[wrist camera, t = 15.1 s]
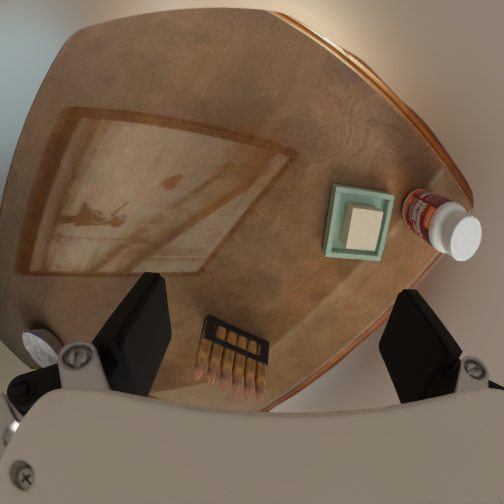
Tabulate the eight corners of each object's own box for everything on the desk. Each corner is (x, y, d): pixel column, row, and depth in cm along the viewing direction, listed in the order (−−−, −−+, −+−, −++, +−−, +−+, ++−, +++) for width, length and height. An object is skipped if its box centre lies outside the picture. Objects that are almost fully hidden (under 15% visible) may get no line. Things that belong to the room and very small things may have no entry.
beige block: (345, 201, 32) (353, 207, 29) (374, 205, 32) (383, 211, 29) (339, 239, 34) (345, 248, 31) (367, 242, 34) (375, 251, 31)
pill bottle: (399, 191, 31) (447, 215, 21) (434, 185, 30) (486, 207, 20) (401, 234, 33) (444, 271, 23) (435, 226, 33) (481, 259, 22)
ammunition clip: (269, 342, 42) (269, 402, 31) (263, 349, 42) (262, 408, 31) (208, 314, 40) (191, 373, 29) (203, 322, 41) (186, 380, 30)
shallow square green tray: (331, 183, 31) (336, 186, 29) (388, 191, 31) (395, 195, 29) (321, 250, 35) (324, 256, 33) (375, 254, 35) (380, 261, 33)
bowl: (47, 358, 50) (39, 370, 46) (24, 318, 45) (13, 329, 41) (80, 366, 49) (71, 379, 45) (55, 322, 44) (43, 335, 40)
